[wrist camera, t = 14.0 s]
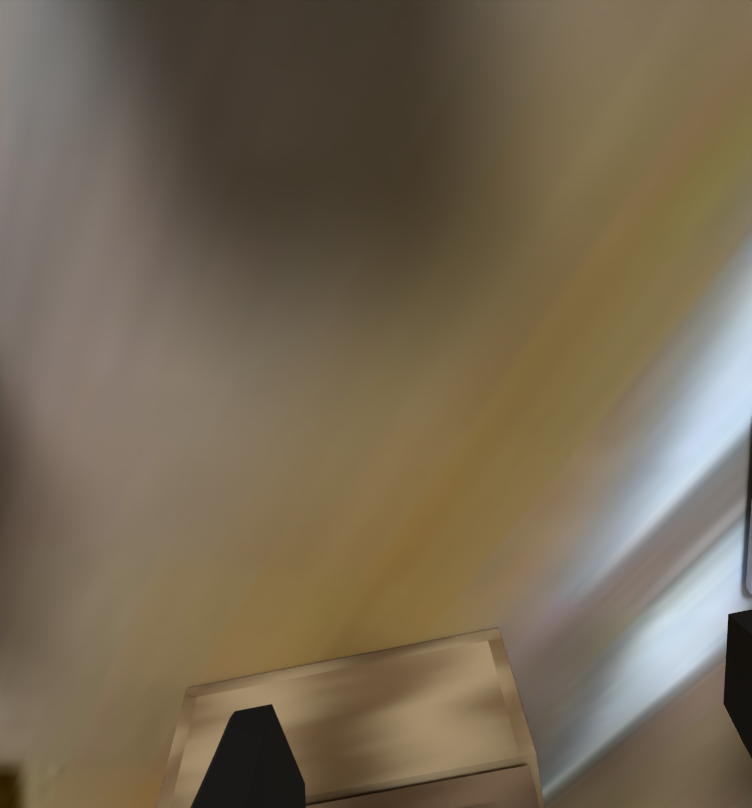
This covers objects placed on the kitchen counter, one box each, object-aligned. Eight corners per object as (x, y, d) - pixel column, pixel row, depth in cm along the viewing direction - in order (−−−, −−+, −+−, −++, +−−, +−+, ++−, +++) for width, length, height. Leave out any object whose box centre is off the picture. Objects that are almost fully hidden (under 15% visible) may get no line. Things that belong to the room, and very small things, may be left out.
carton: (498, 627, 23) (536, 753, 19) (523, 777, 27) (559, 910, 23) (186, 688, 24) (151, 824, 20) (255, 826, 28) (238, 966, 23)
